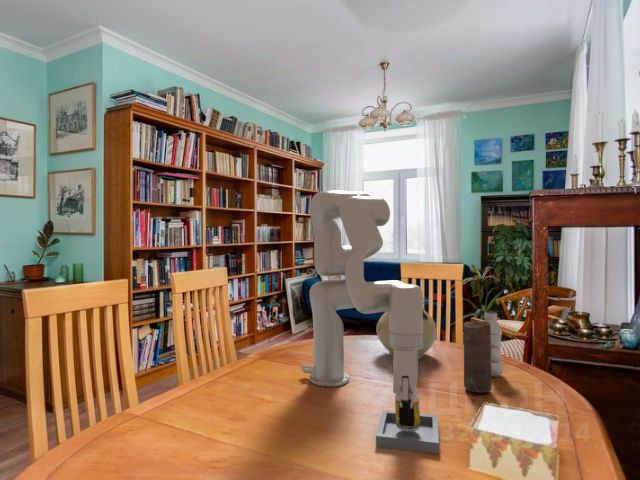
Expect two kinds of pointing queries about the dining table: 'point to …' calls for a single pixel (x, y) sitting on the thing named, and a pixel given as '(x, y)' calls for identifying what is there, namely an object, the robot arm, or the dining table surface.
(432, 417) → the tray
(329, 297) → the robot arm
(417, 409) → the supplement bottle
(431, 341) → the pitcher
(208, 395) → the dining table surface
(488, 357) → the candle
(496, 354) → the plastic bottle
